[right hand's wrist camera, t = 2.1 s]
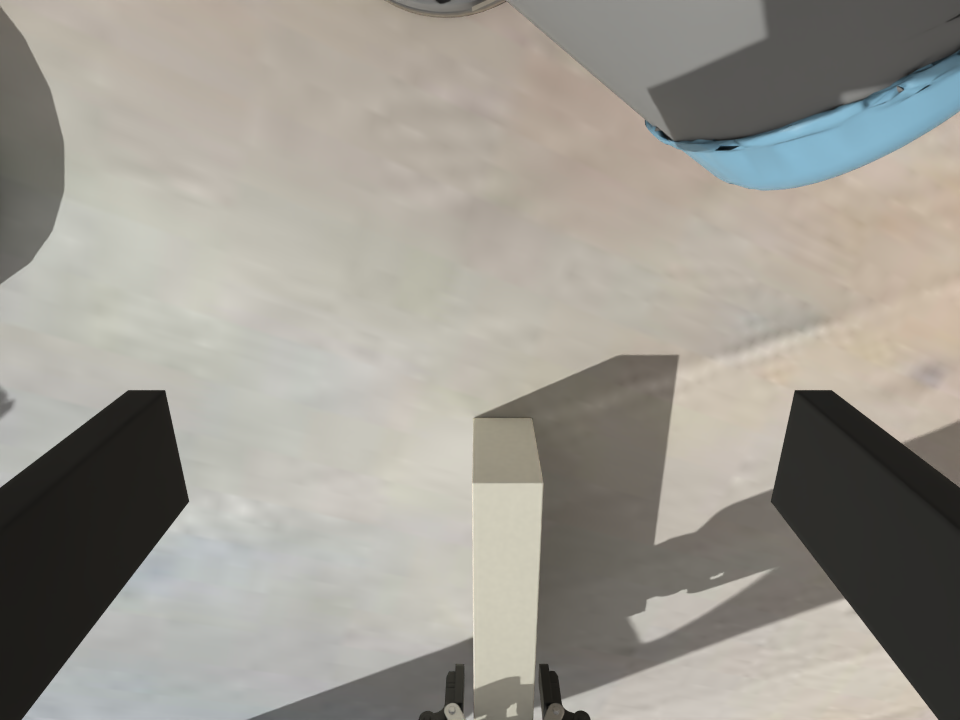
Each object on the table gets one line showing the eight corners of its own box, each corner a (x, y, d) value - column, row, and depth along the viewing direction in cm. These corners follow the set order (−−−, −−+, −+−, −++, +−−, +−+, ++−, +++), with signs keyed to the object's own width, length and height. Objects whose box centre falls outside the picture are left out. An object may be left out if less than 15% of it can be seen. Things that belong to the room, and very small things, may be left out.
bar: (473, 417, 45) (472, 483, 37) (532, 417, 45) (544, 482, 37) (474, 654, 54) (474, 750, 46) (523, 654, 54) (531, 750, 46)
